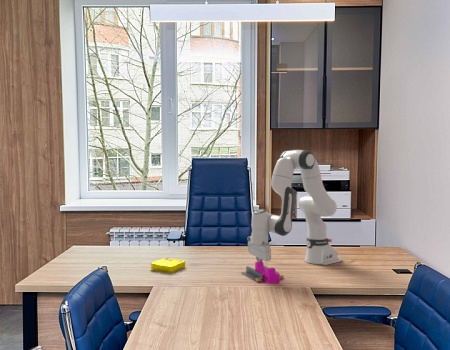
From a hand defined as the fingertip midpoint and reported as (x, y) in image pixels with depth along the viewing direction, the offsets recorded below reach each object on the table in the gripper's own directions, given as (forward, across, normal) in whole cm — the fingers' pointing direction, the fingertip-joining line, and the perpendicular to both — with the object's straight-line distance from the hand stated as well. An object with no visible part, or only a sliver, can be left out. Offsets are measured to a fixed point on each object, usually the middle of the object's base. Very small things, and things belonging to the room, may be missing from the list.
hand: (259, 265), depth 254 cm
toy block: (+5, -9, 0) cm, 11 cm away
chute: (+5, -3, 0) cm, 6 cm away
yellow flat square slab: (+6, +32, +42) cm, 53 cm away
